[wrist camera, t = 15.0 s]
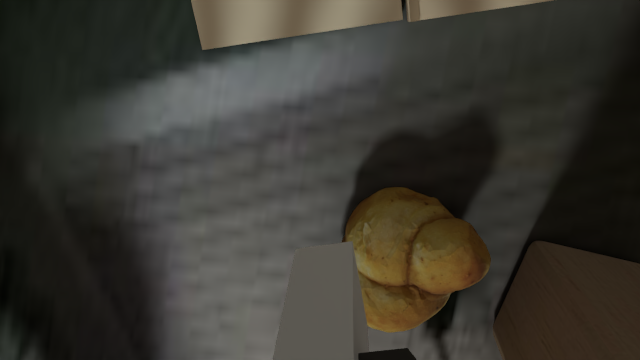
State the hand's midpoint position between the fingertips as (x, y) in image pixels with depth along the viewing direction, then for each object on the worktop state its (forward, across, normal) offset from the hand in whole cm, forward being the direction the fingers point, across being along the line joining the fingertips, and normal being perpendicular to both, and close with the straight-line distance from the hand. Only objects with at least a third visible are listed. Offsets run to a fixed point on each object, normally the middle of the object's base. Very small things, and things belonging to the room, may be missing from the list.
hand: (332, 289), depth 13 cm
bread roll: (+25, +2, -13) cm, 28 cm away
